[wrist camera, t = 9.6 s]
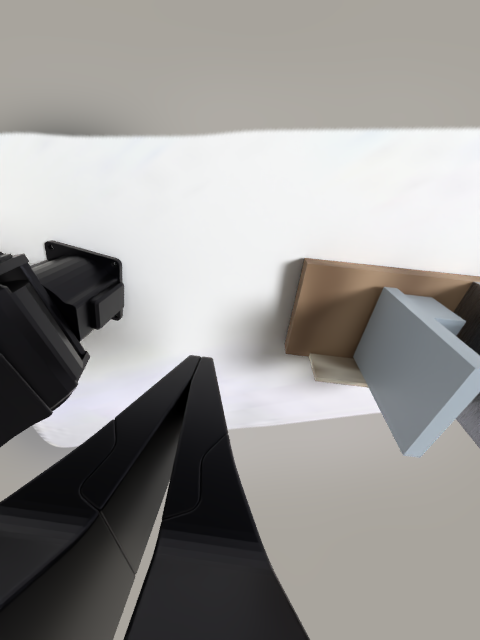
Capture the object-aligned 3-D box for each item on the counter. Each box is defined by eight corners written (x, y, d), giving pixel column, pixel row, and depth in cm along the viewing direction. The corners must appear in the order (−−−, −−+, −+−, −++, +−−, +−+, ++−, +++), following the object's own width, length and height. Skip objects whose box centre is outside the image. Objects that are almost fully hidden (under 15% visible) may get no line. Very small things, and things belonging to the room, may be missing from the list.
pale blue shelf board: (344, 373, 23) (386, 474, 15) (382, 285, 18) (475, 368, 10) (385, 378, 23) (449, 482, 15) (435, 291, 18) (569, 379, 10)
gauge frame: (284, 346, 24) (288, 380, 20) (304, 257, 19) (315, 279, 15) (426, 363, 24) (460, 401, 20) (484, 277, 19) (544, 304, 15)
